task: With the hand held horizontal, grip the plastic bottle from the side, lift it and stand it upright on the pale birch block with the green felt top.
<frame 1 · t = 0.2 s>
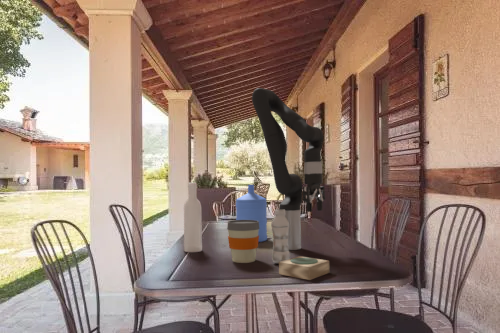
hand: (314, 211, 172), 17 cm above the table, tool pointing down, fingers open, 8 cm apart
water jug: (251, 240, 205), on the table
reusable coffee cup: (243, 260, 157), on the table
bottle: (193, 251, 178), on the table
base block: (304, 273, 135), on the table
plastic bottle: (280, 264, 150), on the table
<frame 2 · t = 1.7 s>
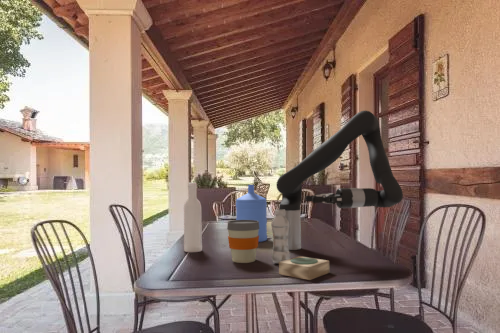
hand: (309, 199, 152), 24 cm above the table, tool horizontal, fingers open, 8 cm apart
nothing on the table moved.
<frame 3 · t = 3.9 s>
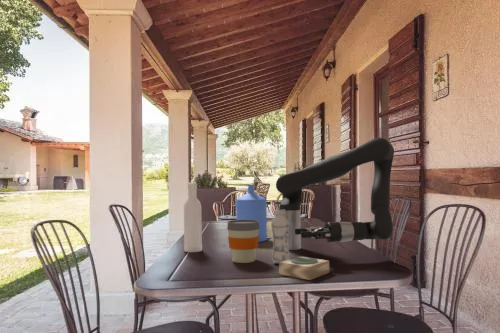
hand: (297, 233, 151), 11 cm above the table, tool horizontal, fingers open, 8 cm apart
nothing on the table moved.
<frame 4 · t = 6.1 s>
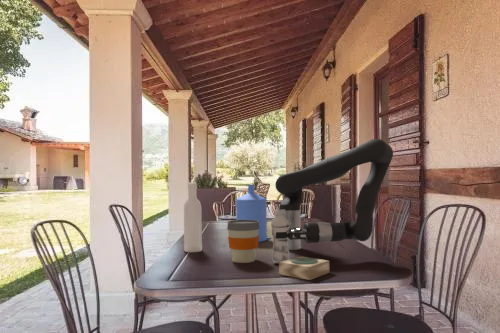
hand: (274, 234, 150), 11 cm above the table, tool horizontal, fingers closed on plastic bottle, 6 cm apart
plastic bottle: (280, 264, 150), on the table, touching gripper
everything else where it was.
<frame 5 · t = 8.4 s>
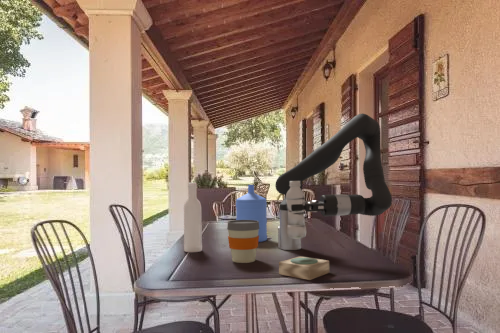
hand: (289, 207, 140), 22 cm above the table, tool horizontal, fingers closed on plastic bottle, 6 cm apart
plastic bottle: (296, 239, 140), point 11 cm above the table, touching gripper
everything else where it was.
when the fingers open (16 cm above the table, at t = 10.8 s): plastic bottle stays where it is, resting on base block.
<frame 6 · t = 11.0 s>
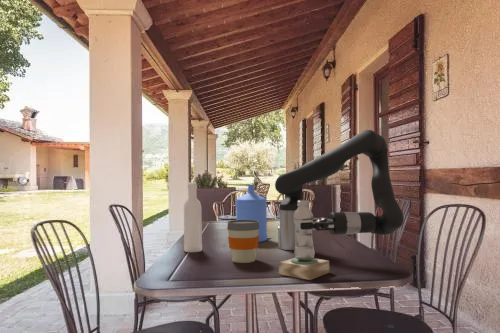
hand: (297, 224, 135), 16 cm above the table, tool horizontal, fingers open, 7 cm apart
plastic bottle: (304, 260, 135), point 4 cm above the table, touching base block
everything else where it was.
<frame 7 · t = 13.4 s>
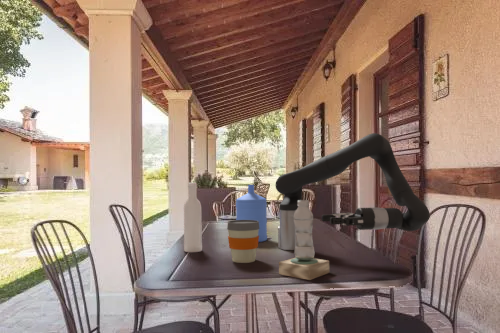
hand: (326, 219, 137), 18 cm above the table, tool horizontal, fingers open, 8 cm apart
nothing on the table moved.
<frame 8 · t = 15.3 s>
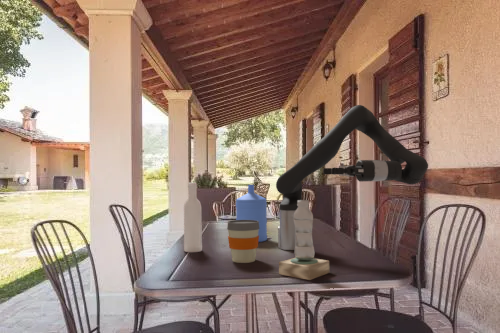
hand: (327, 171, 140), 34 cm above the table, tool horizontal, fingers open, 8 cm apart
nothing on the table moved.
at the end: plastic bottle inside the target area on the base block (0.2 cm from its centre), point 4.1 cm above the base block's base; plastic bottle tilted 1°; the gripper is holding nothing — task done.
